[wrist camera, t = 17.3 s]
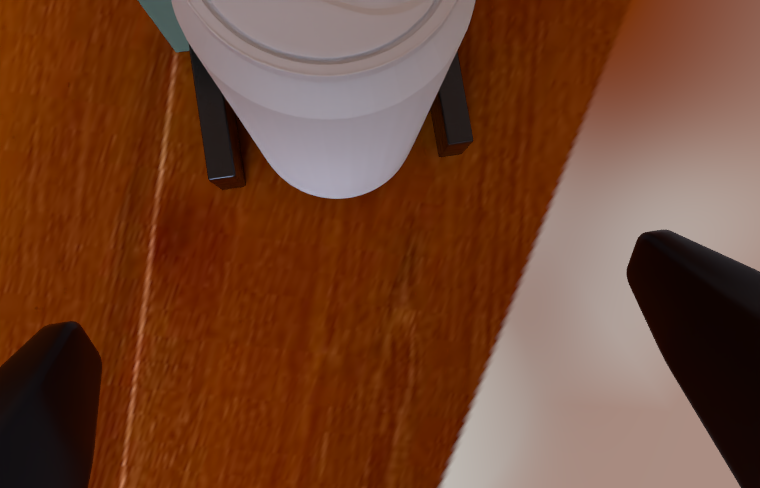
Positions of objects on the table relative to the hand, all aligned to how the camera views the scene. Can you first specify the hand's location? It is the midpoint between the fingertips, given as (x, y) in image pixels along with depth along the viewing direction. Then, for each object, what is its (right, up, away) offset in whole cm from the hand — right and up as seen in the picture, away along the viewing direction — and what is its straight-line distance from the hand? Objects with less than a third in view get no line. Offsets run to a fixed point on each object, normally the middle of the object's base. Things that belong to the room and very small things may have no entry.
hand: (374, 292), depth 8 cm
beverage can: (-2, +6, +13) cm, 14 cm away
